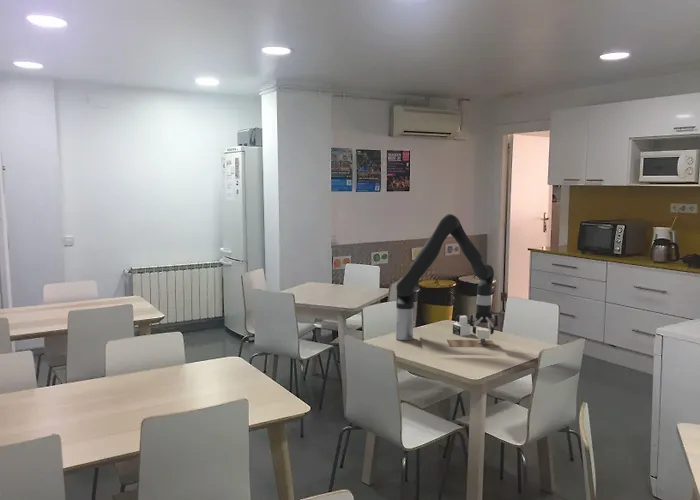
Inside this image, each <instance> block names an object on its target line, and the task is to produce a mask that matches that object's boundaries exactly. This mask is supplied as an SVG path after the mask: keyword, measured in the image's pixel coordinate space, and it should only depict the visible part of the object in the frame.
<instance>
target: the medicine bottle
mask: <svg viewBox="0 0 700 500" xmlns="http://www.w3.org/2000/svg"><path fill="white" fill-rule="evenodd" d="M455 319H456V321H455V322H454V323H452V334H453V335H457V336H459V337H462V336H471V328H472V326H470V325H469V323H468V315H464V314H457V315H456V317H455Z"/></svg>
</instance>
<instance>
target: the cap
mask: <svg viewBox="0 0 700 500" xmlns="http://www.w3.org/2000/svg"><path fill="white" fill-rule="evenodd" d="M475 335H476V338H477V340H481V339H485V340H489V339H490V329H488V328H484V327H483V328H482V327H481V328H480V327H479V328H478V327H476V334H475Z"/></svg>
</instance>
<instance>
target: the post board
mask: <svg viewBox="0 0 700 500" xmlns="http://www.w3.org/2000/svg"><path fill="white" fill-rule="evenodd" d="M446 342H447V344H448V346H449V347H450V348H490V349H491V348H498V346H497V345H496V344H495V343H494V341H493V340H491V339H490V340H489V339H446Z"/></svg>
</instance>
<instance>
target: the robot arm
mask: <svg viewBox="0 0 700 500" xmlns="http://www.w3.org/2000/svg"><path fill="white" fill-rule="evenodd" d="M449 235H451V236H452V237H453V239H454V240H455V241H456V242H457V244H458V246H459V248H460V250H461V252H462V254H463V256H464V257H465V258H466V259H467V261H468V263H469V264H470V267H471V269H472V272H473V273H474V275H475V276H476V277H477V278H478V279H479V280H480V281H479V283H478V285H477V288H476V290H477V291H476V303H475V304H476V307H475V308H476V309H475V310H476V311H475V314H473V313H470V314H469V319H468V320H469V323H468V324H469V325H470V326H471V328H472V333H473V334H474V335H476V333H477V326H478V325H479V324H487V323H488V324H489V325H490V326H489V327H490V329H489V335H493V334H494V332H495V331H494V330H495V327H498V325H499V324H498V322H499V321H498V320H499V319H498V315H497V314H495V313H494V314H492V286H493V281H494V274H495V272H494V268H493V266H492V265H490V264H484V262H483V256H482V254H481V253H480V251H479V250H478V248H477V247H476V246H475V245H474V243H473V242H472V240H471V239H470V238H469V237H468V235H467V233H466V232H465V230H464V227H463V226H462V224H461V222H460V220H459V218H458V217H457V216H455V215H454V214H452V213H447V214H445V215H443V216H442V217H441V219H440V221H439V222H438V224H437V225H436V228H435V229H434V231H433V233H432V234H431V236H429V238H428V239H427V241H426V242H425V243H424V245H423V247H422V248H421V249H420V251H419V252H418V253H417V254H416V256H415V258H414V260H413V262H412V264H411V266H410V268H409V270H408V271H407V272H406V274H404V276H403V277H402V278H400V279H399V280H398V281H397V283H396V287H395V288H396V305H395V306H396V312H395V314H396V315H395V316H396V320H395V339H396V340H397V341H398V340H399V341H412V340H413V339H414V303H415V302H414V298H415V296H414V292H415V287H416V286H417V284H418V283H419V281H420V279H422V278H421V277H423V275H424V274H425V273H426V272H427V271H428V270H429V268H430V267H431V266H432V264H434V262H435V261H436V259H437V257H438V256H439V254H440V252H441V249H442V247H443V244H444V242H445V240H446V239H447V238H448V236H449ZM475 318H476V319H475ZM474 319H475V321H474ZM491 319H494V321H493V322H492V321H491ZM473 321H474V322H473Z"/></svg>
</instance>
